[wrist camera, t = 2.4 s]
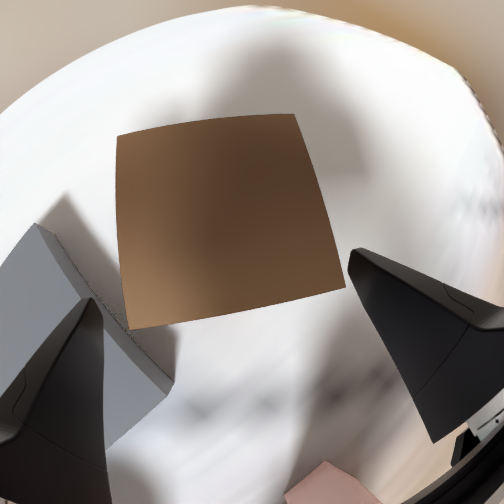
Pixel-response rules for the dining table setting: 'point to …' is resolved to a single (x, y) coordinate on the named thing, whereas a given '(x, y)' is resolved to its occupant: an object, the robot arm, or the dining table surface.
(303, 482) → the dusty pink block
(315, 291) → the walnut block
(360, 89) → the dining table surface
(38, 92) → the dining table surface
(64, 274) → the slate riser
